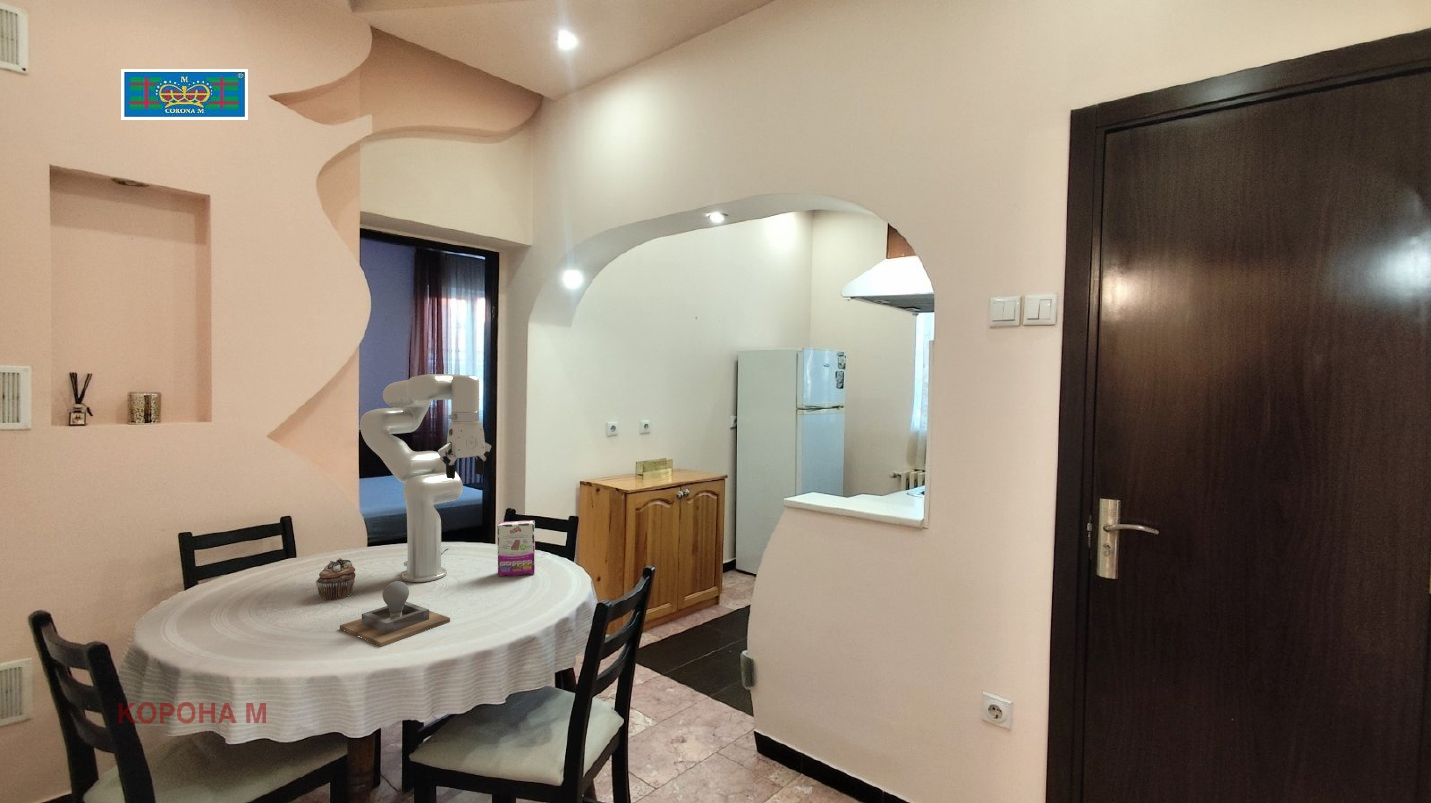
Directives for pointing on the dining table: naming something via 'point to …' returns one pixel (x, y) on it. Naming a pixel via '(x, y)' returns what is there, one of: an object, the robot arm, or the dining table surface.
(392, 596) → the light bulb
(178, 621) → the dining table surface
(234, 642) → the dining table surface
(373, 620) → the socket holder
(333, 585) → the cupcake
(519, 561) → the candy bar box
